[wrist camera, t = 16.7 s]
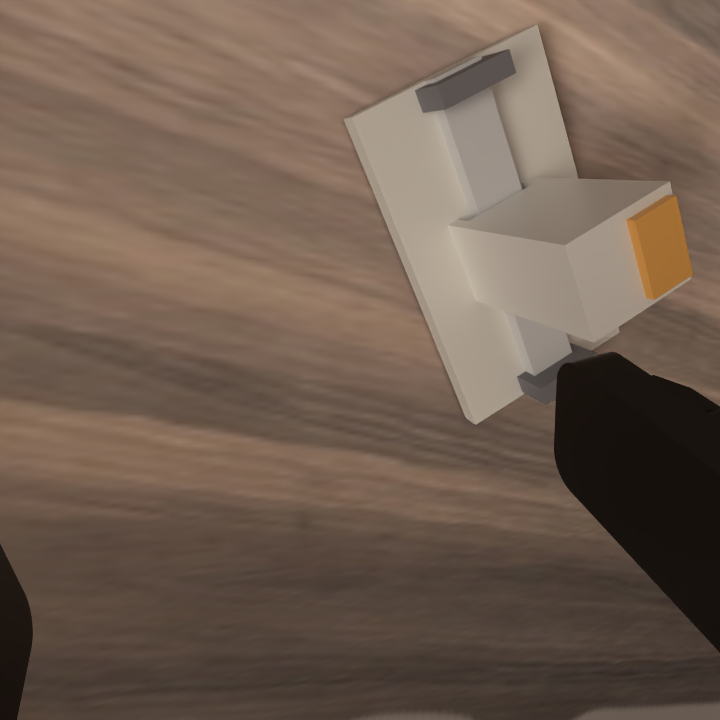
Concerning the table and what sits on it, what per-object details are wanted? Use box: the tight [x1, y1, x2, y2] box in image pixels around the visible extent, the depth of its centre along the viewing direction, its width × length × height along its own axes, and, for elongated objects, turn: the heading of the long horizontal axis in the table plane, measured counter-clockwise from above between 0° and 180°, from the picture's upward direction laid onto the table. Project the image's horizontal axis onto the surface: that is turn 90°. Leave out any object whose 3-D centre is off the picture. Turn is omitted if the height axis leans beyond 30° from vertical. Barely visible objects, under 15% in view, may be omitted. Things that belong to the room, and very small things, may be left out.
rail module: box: [448, 177, 693, 342], centre depth 33 cm, size 5×6×11 cm
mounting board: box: [344, 25, 620, 425], centre depth 38 cm, size 20×12×4 cm, turn 24°
